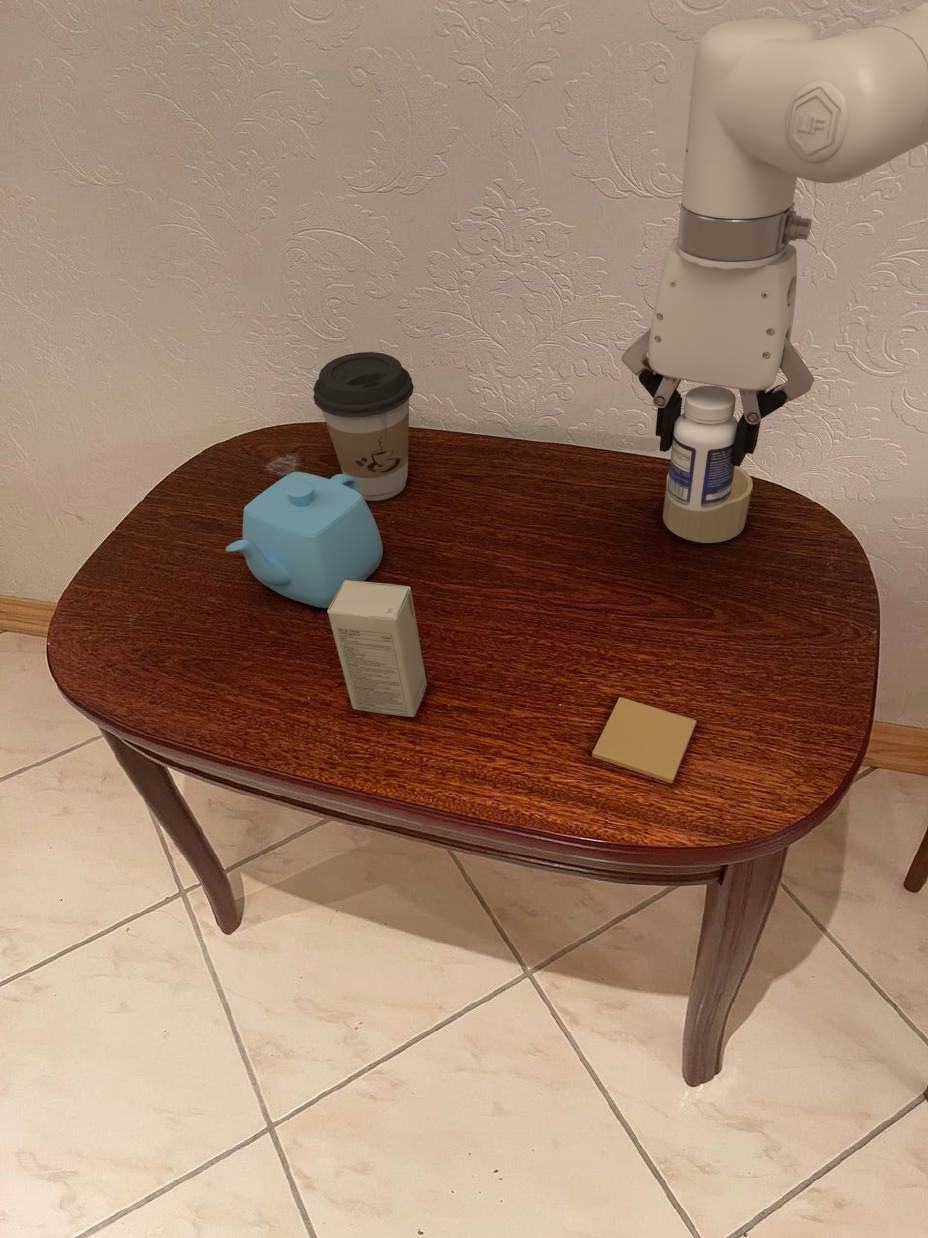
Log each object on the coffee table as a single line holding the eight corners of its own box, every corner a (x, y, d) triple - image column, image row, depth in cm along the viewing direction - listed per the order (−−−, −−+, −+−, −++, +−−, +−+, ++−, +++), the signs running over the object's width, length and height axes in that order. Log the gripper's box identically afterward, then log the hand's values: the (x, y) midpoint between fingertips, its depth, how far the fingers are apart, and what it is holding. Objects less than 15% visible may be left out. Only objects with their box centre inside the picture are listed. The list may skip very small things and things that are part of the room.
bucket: (753, 505, 100) (761, 467, 97) (733, 550, 95) (741, 512, 91) (676, 488, 104) (680, 451, 100) (652, 531, 98) (656, 494, 94)
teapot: (209, 612, 92) (179, 523, 84) (321, 522, 103) (303, 436, 95) (298, 655, 87) (274, 564, 79) (407, 555, 97) (395, 466, 90)
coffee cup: (347, 521, 103) (326, 405, 93) (319, 473, 111) (297, 361, 100) (438, 494, 106) (427, 379, 96) (404, 449, 113) (390, 338, 103)
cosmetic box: (428, 685, 83) (415, 585, 74) (414, 720, 80) (400, 619, 71) (363, 675, 84) (343, 576, 76) (347, 709, 81) (325, 610, 73)
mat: (696, 724, 77) (696, 720, 77) (672, 784, 73) (673, 779, 72) (619, 700, 80) (619, 696, 79) (591, 757, 75) (592, 752, 75)
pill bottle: (731, 483, 79) (747, 383, 73) (727, 517, 76) (743, 415, 69) (670, 477, 81) (681, 378, 74) (663, 510, 77) (673, 409, 71)
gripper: (869, 223, 62) (817, 448, 74) (634, 202, 69) (622, 412, 81) (849, 261, 57) (798, 495, 69) (599, 235, 64) (592, 453, 76)
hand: (704, 448), depth 75 cm, fingers closed on pill bottle, 5 cm apart
